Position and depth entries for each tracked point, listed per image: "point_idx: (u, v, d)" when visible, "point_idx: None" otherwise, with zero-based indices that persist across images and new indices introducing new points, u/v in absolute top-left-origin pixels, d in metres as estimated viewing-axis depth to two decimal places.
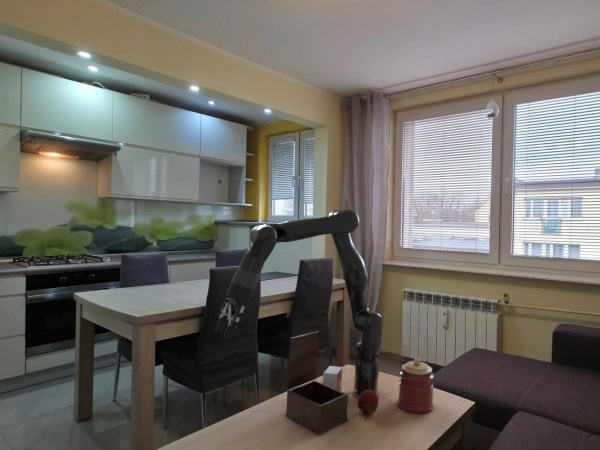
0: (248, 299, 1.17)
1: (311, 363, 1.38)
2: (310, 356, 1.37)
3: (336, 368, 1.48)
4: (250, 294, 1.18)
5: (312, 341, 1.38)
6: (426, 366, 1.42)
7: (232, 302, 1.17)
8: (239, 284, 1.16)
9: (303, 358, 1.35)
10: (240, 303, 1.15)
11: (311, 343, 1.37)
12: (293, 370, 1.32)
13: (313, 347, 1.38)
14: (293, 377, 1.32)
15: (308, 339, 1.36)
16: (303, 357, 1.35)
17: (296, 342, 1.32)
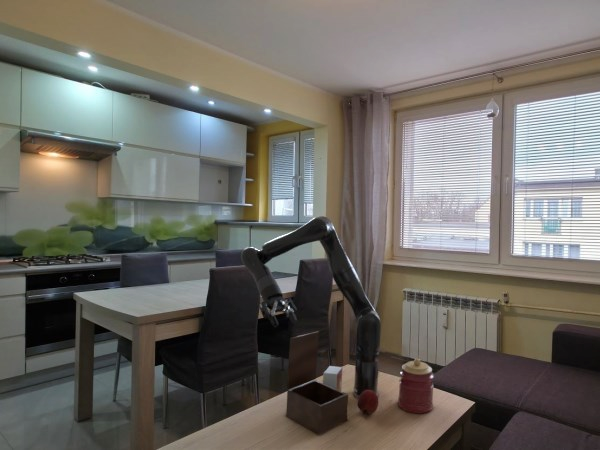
0: (269, 294, 1.44)
1: (311, 363, 1.38)
2: (310, 356, 1.37)
3: (336, 368, 1.48)
4: (267, 291, 1.45)
5: (312, 341, 1.38)
6: (426, 366, 1.42)
7: None
8: (260, 294, 1.48)
9: (303, 358, 1.35)
10: (266, 301, 1.44)
11: (311, 343, 1.37)
12: (293, 370, 1.32)
13: (313, 347, 1.38)
14: (293, 377, 1.32)
15: (308, 339, 1.36)
16: (303, 357, 1.35)
17: (296, 342, 1.32)
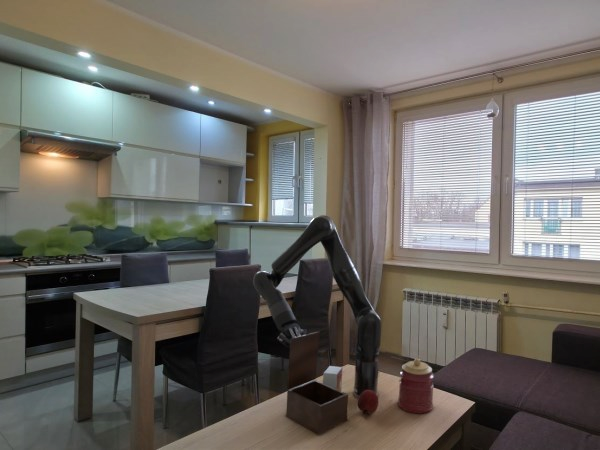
0: (282, 321, 1.39)
1: (311, 363, 1.38)
2: (310, 356, 1.37)
3: (336, 368, 1.48)
4: (281, 317, 1.40)
5: (312, 341, 1.38)
6: (426, 366, 1.42)
7: None
8: None
9: (303, 358, 1.35)
10: (280, 329, 1.38)
11: (311, 343, 1.37)
12: (293, 370, 1.32)
13: (313, 347, 1.38)
14: (293, 377, 1.32)
15: (309, 339, 1.36)
16: (303, 357, 1.35)
17: (297, 342, 1.32)
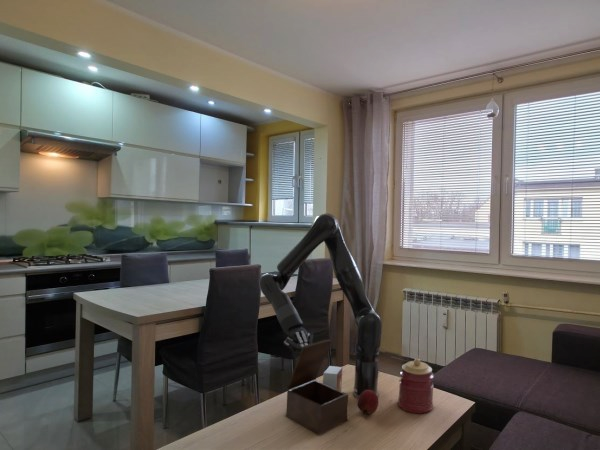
0: (289, 325, 1.36)
1: (315, 366, 1.36)
2: (316, 361, 1.35)
3: (336, 368, 1.48)
4: (287, 321, 1.37)
5: (322, 348, 1.34)
6: (426, 366, 1.42)
7: None
8: (280, 324, 1.40)
9: (309, 363, 1.33)
10: (286, 333, 1.36)
11: (321, 350, 1.34)
12: (297, 374, 1.30)
13: (321, 353, 1.35)
14: (295, 379, 1.31)
15: (319, 347, 1.32)
16: (310, 362, 1.33)
17: (307, 350, 1.28)
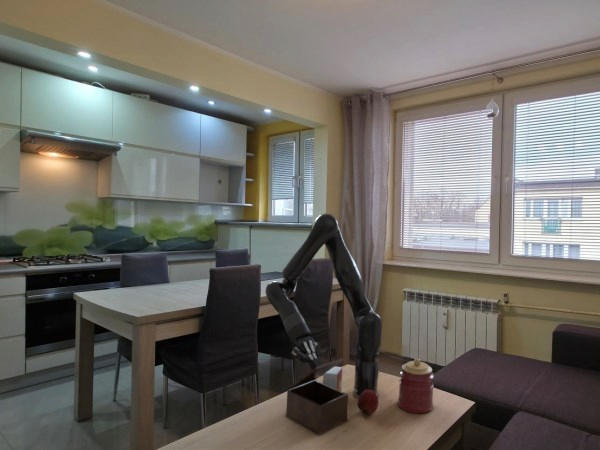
0: (297, 334, 1.34)
1: (319, 374, 1.35)
2: (322, 372, 1.33)
3: (336, 368, 1.48)
4: (295, 331, 1.34)
5: (332, 365, 1.31)
6: (426, 366, 1.42)
7: None
8: (287, 333, 1.37)
9: (316, 374, 1.30)
10: (294, 343, 1.33)
11: (330, 366, 1.31)
12: (301, 381, 1.29)
13: (330, 367, 1.32)
14: (298, 384, 1.30)
15: (330, 365, 1.29)
16: (316, 374, 1.30)
17: (318, 370, 1.24)
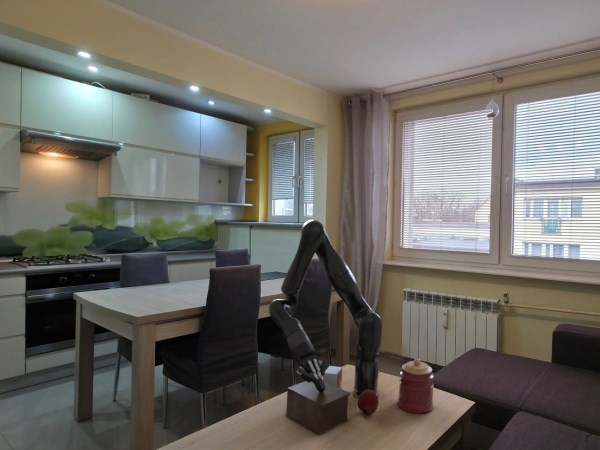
0: (301, 353, 1.32)
1: None
2: None
3: (336, 368, 1.48)
4: (299, 349, 1.32)
5: None
6: (426, 366, 1.42)
7: None
8: (291, 351, 1.35)
9: None
10: (299, 362, 1.31)
11: None
12: None
13: None
14: None
15: None
16: None
17: None
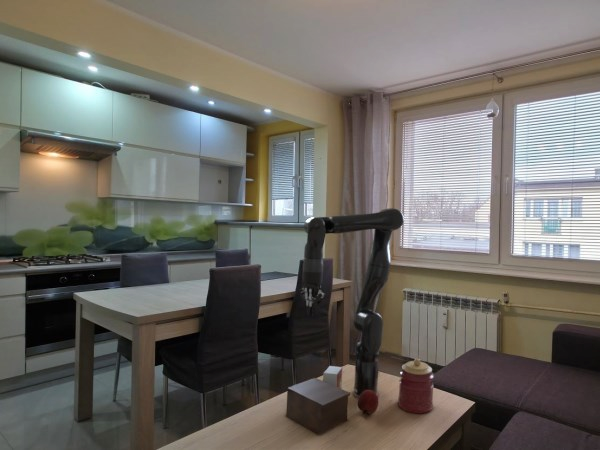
0: None
1: None
2: None
3: (336, 368, 1.48)
4: (322, 276, 1.43)
5: None
6: (426, 366, 1.42)
7: (310, 286, 1.42)
8: (313, 272, 1.39)
9: None
10: (318, 285, 1.40)
11: None
12: None
13: None
14: None
15: None
16: None
17: None
